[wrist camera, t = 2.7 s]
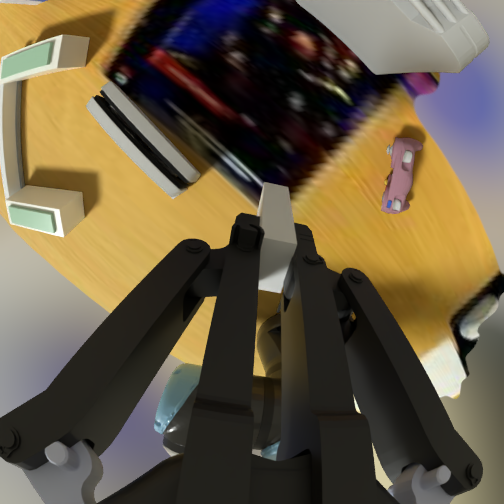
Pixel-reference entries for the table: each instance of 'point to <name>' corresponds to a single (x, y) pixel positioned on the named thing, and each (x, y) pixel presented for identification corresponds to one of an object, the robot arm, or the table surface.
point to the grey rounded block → (136, 122)
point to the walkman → (23, 1)
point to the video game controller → (400, 175)
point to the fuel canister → (404, 33)
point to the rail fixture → (9, 137)
